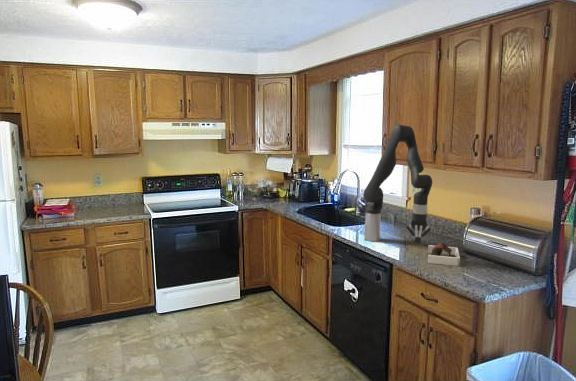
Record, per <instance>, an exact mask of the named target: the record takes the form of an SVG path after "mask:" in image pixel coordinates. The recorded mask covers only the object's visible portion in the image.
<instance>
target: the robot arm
mask: <svg viewBox="0 0 576 381" xmlns="http://www.w3.org/2000/svg"><path fill="white" fill-rule="evenodd" d="M388 138H389V139H388V141H387V144H386V147H385V149H384V151H383V153H382V156H381V157H380V160H379V162H378V163H377V166H376V169H375V171H374V172H373V174H372V176H371V179H370V181H369V182H368V184H367V185H366V187H365V188H364V191H363V194H362V196H363V199H364V202H366V203H369V204H368V206H367V207H366V208H365V224H364V238H363V239H364V241H367V242H379V241H381V221H382V220H381V219H382V217H381V216H382V209H383V205H384V191H383V190H382V188H381V185H382V184H383V183H384V182H385V181H386V180H387V179H388V178H389V177H390V176H391V174H392V173H393V171H394V169H395V167H396V165H397V156H396V150H397V148H398V145H399V144H400V142H401V143H405V145H406V147H407V154H406V163H407V166H408V167H409V170H410V183H411V186H412V187H413V188H414V189H420V190H419V191H418V192H415V193H414V194H413V201H412V202H413V204H412V213H411V222H410V224H407V225H406V229H407V231H409V233H410V234H411V236H412V237H413V236H414V237H415V238H414V242H415V244H417V245H419V244H421V241H422V240H421V239H422V237H425V236H426V235H427V234H429V233H430V231H432V228H431V227H430V226H429V225H428V223H427V222H428V221H427V220H428V200H429V199H428V198H429V195H430V192H431V189H432V186H433V177H431V176H430V175H429V174H421V173H422V172H423V171H424V170H425V169H424V168H425V167H424V164H423V162H422V159H421V157H420V154H419V150H418V145H417V141H416V140H417V139H416V135H415V131H414V129H413V128H412V126H409V125H402V124H396V125H394V127H393V128H392V131H391V132H390V136H389V137H388ZM423 231H424V232H423ZM422 232H423V233H422Z"/></svg>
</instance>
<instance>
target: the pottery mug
mask: <svg viewBox="0 0 576 381" xmlns="http://www.w3.org/2000/svg"><path fill="white" fill-rule="evenodd" d="M434 246H435V247H434V248H433V250H432V253H430V255H434V256H441V255H442V254H441V253H442V251H443V250H444V251H446V252H448V253H449V254H448V256H447V257H452V255H451V251H452V250H451V249H450V248H448V247H449V246H447V245H445V244H444V243H442V242H439V244H436V245H434Z"/></svg>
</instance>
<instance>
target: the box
mask: <svg viewBox="0 0 576 381" xmlns="http://www.w3.org/2000/svg"><path fill="white" fill-rule="evenodd" d="M435 246H436V245H432V244H428V247H427V250H428V251H427V253H429V254H428V255H427V264H434V265H435V264H436V265H444V266H456V267H460V264H461V257H460V253H459V252H460V251H459V248H458V247H457V246H456V247H455V246H447V247H448V248H450V249H451V250H452V251H451V256H450V257H448V256H444V255H449V253H448V252H446V251H444V250H443V251H442V253H441V254H440V256H434V255H431V253H432V250H433V248H434V247H435ZM452 255H453V256H454V257H453V256H452Z"/></svg>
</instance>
